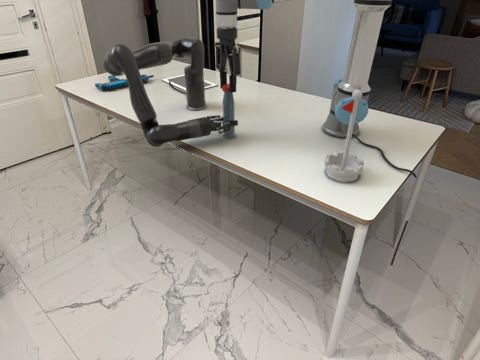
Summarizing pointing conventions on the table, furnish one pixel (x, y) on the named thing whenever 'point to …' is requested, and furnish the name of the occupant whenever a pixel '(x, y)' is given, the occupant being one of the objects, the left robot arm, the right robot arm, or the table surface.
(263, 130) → the table surface
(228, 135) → the bottle
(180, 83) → the tablet
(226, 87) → the cap
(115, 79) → the submachine gun
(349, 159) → the flag stand
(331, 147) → the table surface
